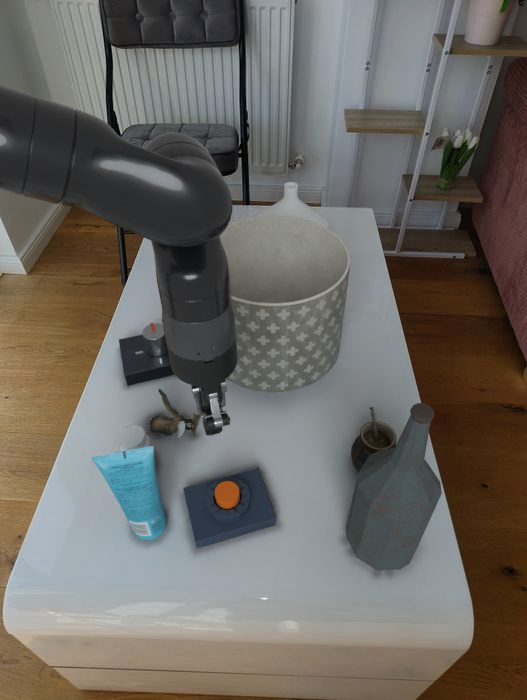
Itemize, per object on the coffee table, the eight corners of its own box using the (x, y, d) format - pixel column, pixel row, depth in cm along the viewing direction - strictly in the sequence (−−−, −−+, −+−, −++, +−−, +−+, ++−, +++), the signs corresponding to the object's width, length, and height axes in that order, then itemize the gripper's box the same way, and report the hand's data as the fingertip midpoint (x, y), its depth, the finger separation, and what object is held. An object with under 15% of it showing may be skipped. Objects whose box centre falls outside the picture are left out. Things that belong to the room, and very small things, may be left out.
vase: (317, 288, 116) (322, 212, 103) (240, 274, 121) (236, 199, 107) (334, 244, 129) (341, 171, 115) (264, 233, 133) (263, 161, 119)
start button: (218, 512, 75) (217, 506, 73) (213, 490, 77) (212, 484, 76) (242, 505, 75) (242, 499, 74) (236, 484, 78) (235, 477, 77)
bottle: (408, 506, 79) (458, 373, 58) (424, 571, 72) (488, 447, 51) (341, 508, 79) (366, 376, 57) (350, 573, 72) (383, 451, 50)
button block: (196, 548, 75) (193, 536, 72) (184, 495, 81) (181, 481, 78) (275, 525, 77) (275, 512, 74) (258, 474, 83) (257, 460, 80)
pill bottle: (121, 474, 83) (110, 445, 77) (133, 450, 87) (123, 420, 81) (149, 481, 82) (139, 451, 77) (160, 456, 86) (152, 425, 80)
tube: (171, 504, 80) (150, 429, 66) (177, 532, 76) (156, 461, 63) (122, 518, 78) (90, 445, 64) (126, 548, 75) (93, 477, 61)
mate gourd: (362, 490, 81) (370, 454, 74) (339, 452, 86) (345, 415, 79) (402, 475, 83) (414, 438, 76) (377, 438, 88) (387, 401, 80)
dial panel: (127, 386, 97) (124, 374, 95) (121, 350, 104) (118, 338, 101) (200, 369, 100) (199, 357, 97) (190, 335, 106) (188, 323, 104)
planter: (219, 312, 111) (209, 213, 94) (336, 317, 109) (347, 217, 93) (200, 403, 94) (183, 301, 77) (339, 410, 92) (353, 308, 75)
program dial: (171, 353, 98) (168, 334, 95) (148, 359, 97) (144, 340, 94) (166, 338, 101) (163, 319, 98) (144, 343, 100) (140, 325, 97)
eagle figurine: (209, 407, 91) (162, 388, 92) (202, 404, 84) (152, 384, 85) (192, 447, 90) (145, 428, 91) (184, 448, 83) (133, 427, 84)
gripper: (156, 301, 59) (176, 398, 71) (176, 385, 50) (194, 480, 62) (220, 289, 60) (229, 386, 73) (251, 368, 51) (254, 464, 64)
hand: (213, 429), depth 67 cm, fingers closed
